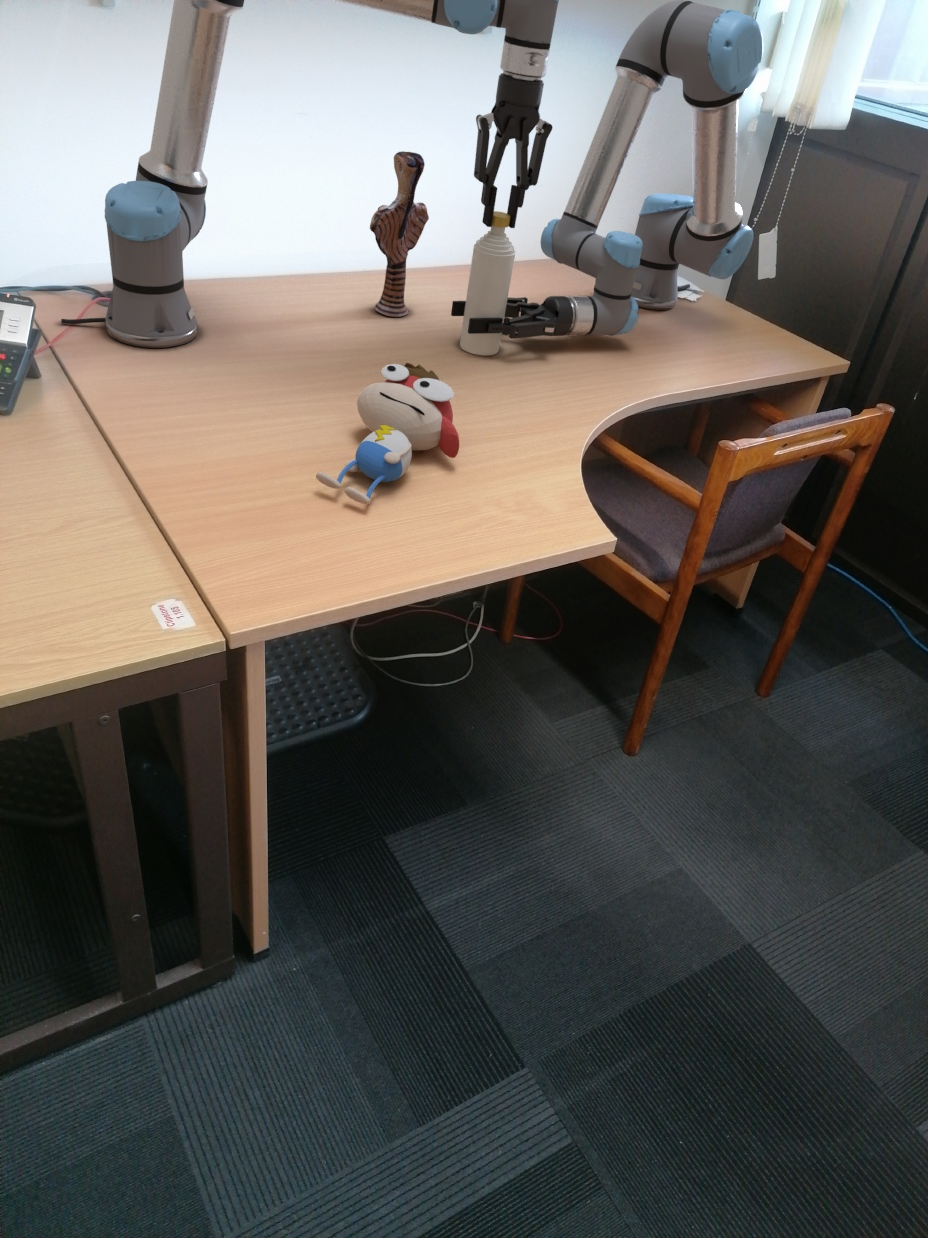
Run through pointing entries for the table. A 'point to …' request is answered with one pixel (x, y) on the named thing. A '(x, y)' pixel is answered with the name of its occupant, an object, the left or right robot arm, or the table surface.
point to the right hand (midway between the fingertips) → (461, 316)
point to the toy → (399, 425)
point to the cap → (500, 219)
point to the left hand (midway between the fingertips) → (498, 224)
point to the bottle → (487, 289)
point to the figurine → (399, 231)
